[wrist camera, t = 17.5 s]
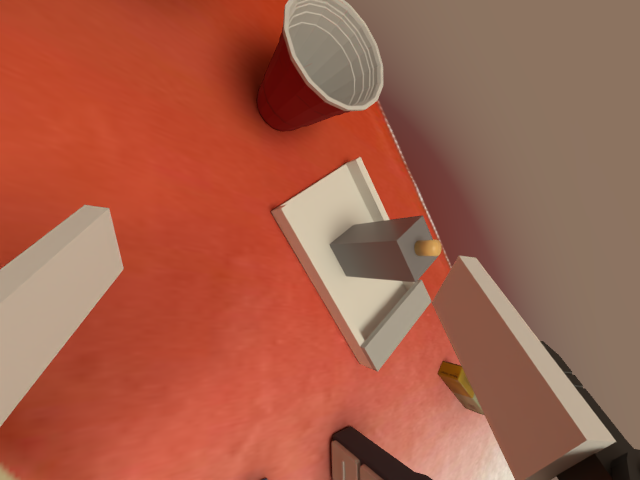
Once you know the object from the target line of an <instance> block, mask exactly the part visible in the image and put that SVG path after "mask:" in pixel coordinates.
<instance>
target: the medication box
mask: <svg viewBox="0 0 640 480" xmlns="http://www.w3.org/2000/svg"><path fill="white" fill-rule="evenodd" d="M438 375H439V376H440V377H441V379H442V380H443V381H444V382H445V384H446V385H447V386H448V387H449V389H450V390H451V391H452V392H453V393H454V395H455V396H456V397H457V398H458V400H459V401H460V402H461V403H462V405H463V406H464V407H465V408H467V409H469V410H472V411H474V412H477V413H480V414H483V415H484V412H483V410H482V408H481V406H480V404H479V402H478V400H477V398H476V395H475V393H474V391H473V389H472V387H471V385H470V383H469V381H468V378H467V376H466V374H465V372H464V370H463V368H462V366H460V365H457V364H453V363H450V362H444V361H443V362H442V364H441V366H440V369H439V372H438Z"/></svg>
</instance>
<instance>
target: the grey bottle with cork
mask: <svg viewBox="0 0 640 480" xmlns="http://www.w3.org/2000/svg"><path fill="white" fill-rule="evenodd" d="M329 245H330V247H331V249H332V251H333V253H334V255H335V256H336V258H337V260H338V262H339V264H340V266H341V268H342V269H343V271H344V273H345V275H346V276H348V277H360V278H371V279H383V280H394V281H406V282H416V281H417V280H418V279H419V278H420V277H421V276H422V274H423V273H424V272H425V271H426V270H427V269H428V267H429V266H430V265H431V264H432V263H433V262H434V260H435V259H436V258H437V257H438V256H439V255H440V253H441V244H440V242H439V241H438V240H433V239H432V236H431V234H430V232H429V229H428V227H427V225H426V222H425V220H424V217H423V216H415V217H408V218H400V219H393V220H385V221H378V222H370V223H363V224H355V225H353V226H351V227H350V228H349V229H348V230H346V231H345V232H344V233H343V234H341V235H340V236H339V237H338V238H337V239H335V240H334V241H333V242H332V243H330V244H329Z"/></svg>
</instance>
